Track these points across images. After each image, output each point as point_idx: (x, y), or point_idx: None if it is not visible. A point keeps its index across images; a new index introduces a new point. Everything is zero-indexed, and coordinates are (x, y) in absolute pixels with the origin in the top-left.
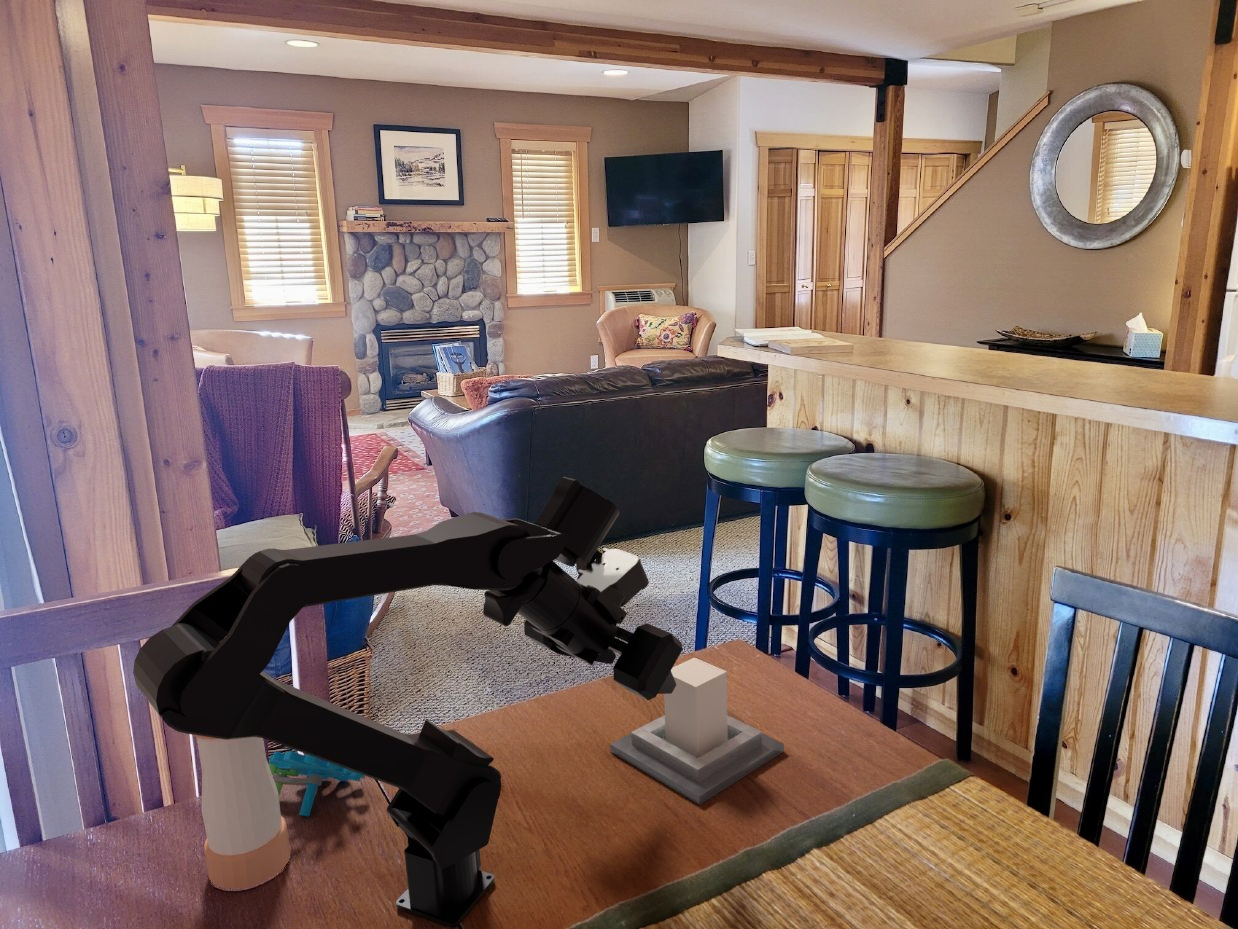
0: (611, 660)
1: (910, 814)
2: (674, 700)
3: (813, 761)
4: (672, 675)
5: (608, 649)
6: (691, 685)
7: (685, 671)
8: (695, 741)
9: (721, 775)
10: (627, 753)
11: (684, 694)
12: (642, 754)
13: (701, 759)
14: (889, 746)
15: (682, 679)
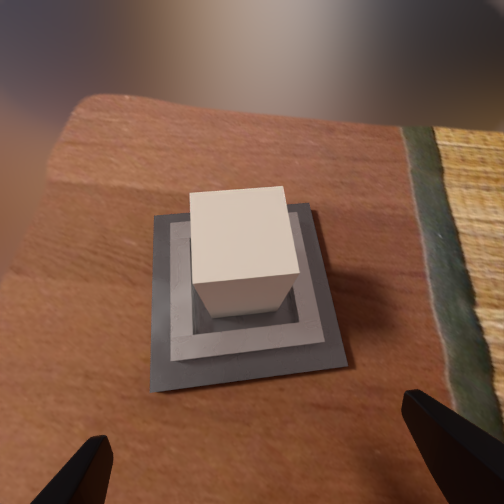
0: (107, 463)
1: (460, 196)
2: (230, 295)
3: (339, 199)
4: (501, 442)
5: (75, 500)
6: (286, 274)
7: (226, 244)
8: (278, 304)
9: (322, 306)
10: (191, 385)
11: (260, 285)
12: (210, 366)
13: (305, 319)
14: (357, 132)
15: (252, 273)
